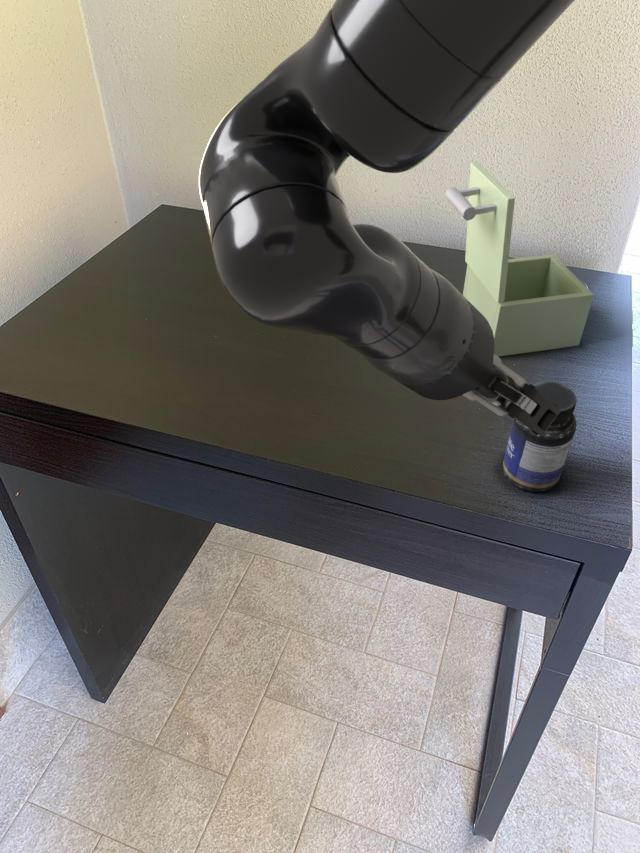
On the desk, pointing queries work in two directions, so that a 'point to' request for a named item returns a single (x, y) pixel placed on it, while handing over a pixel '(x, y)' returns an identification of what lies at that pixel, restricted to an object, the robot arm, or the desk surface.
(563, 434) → the pill bottle
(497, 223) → the green box lid
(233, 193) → the robot arm
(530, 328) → the pale green open box
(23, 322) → the desk surface
